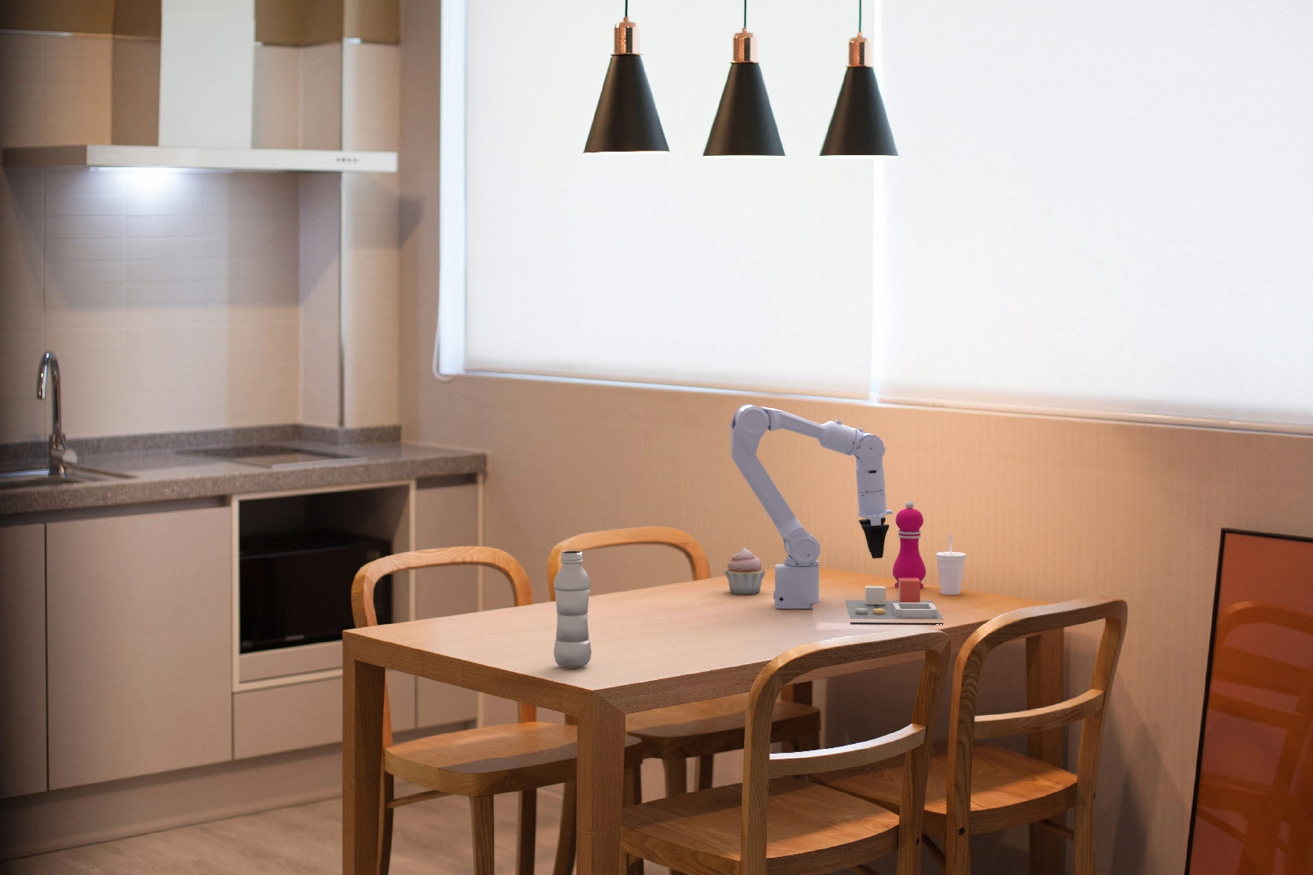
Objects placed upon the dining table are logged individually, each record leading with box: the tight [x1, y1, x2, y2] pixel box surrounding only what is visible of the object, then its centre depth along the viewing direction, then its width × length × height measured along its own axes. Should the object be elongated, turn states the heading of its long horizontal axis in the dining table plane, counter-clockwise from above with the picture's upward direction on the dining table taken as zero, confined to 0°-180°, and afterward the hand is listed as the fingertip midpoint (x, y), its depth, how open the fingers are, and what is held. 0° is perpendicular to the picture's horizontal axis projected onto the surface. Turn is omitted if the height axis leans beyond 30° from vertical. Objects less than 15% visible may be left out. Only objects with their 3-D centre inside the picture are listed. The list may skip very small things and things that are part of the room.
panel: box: [844, 599, 944, 626], centre depth 311 cm, size 18×20×3 cm
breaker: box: [864, 585, 887, 605], centre depth 317 cm, size 4×2×3 cm, turn 86°
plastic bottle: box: [553, 550, 592, 668], centre depth 265 cm, size 6×7×20 cm
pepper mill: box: [892, 500, 927, 589], centre depth 337 cm, size 7×7×20 cm
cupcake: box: [723, 546, 767, 595], centre depth 338 cm, size 9×9×10 cm
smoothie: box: [935, 532, 967, 596], centre depth 329 cm, size 6×6×14 cm
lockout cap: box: [898, 578, 921, 603], centre depth 317 cm, size 4×4×5 cm
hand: (876, 555), depth 322 cm, fingers open, 7 cm apart
